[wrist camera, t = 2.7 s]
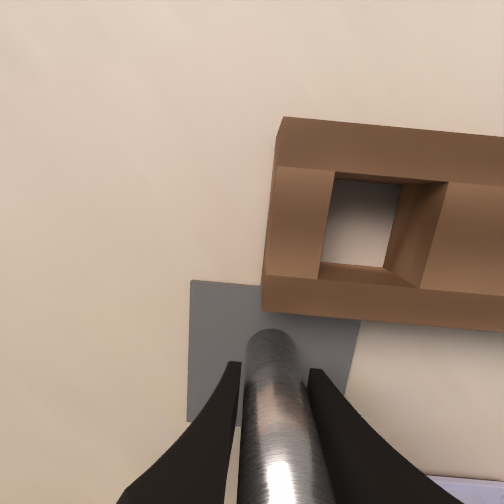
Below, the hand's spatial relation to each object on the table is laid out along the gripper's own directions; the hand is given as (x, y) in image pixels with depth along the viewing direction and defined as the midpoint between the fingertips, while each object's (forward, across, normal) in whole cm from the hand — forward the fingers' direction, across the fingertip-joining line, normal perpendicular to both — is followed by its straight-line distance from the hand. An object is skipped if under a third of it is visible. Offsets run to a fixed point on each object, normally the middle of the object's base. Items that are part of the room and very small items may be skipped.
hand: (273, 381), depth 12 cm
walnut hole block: (+3, -8, -8) cm, 12 cm away
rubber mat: (+3, 0, +1) cm, 3 cm away
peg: (+2, 0, 0) cm, 2 cm away
